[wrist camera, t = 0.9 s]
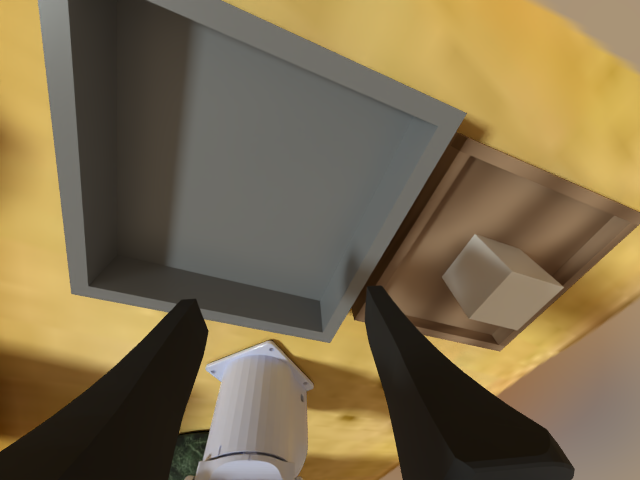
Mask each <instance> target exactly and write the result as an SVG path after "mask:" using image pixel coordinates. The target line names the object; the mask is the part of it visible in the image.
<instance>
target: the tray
mask: <svg viewBox="0 0 640 480" xmlns="http://www.w3.org/2000/svg"><path fill="white" fill-rule="evenodd" d="M639 224H640V212H638V211H636V210H633V209H631V208H629V207H627V206H625V205H622V204H620V203H618V202H615V201H613V200H611V199H609V198H606V197H604V196H602V195H599V194H597V193H595V192H593V191H590V190H588V189H586V188H583V187H581V186H579V185H576V184H574V183H572V182H570V181H567V180H565V179H563V178H560V177H558V176H556V175H553V174H551V173H549V172H547V171H544V170H542V169H540V168H537V167H535V166H533V165H530V164H528V163H526V162H524V161H521V160H519V159H517V158H514V157H512V156H510V155H508V154H505V153H503V152H501V151H498V150H496V149H494V148H491V147H489V146H487V145H485V144H482V143H480V142H478V141H475V140H473V139H471V138H468V137H466V136H464V135H462V134H459V133H457V132H456V133H455V134H454V136H453V138H452V139H451V141H450V143H449V144H448V146H447V148H446V149H445V151H444V153H443V154H442V156H441V158H440V159H439V161H438V163H437V164H436V166H435V168H434V169H433V171H432V173H431V174H430V176H429V178H428V179H427V181H426V183H425V185H424V186H423V188H422V190H421V191H420V193H419V195H418V196H417V198H416V200H415V201H414V203H413V205H412V206H411V208H410V210H409V211H408V213H407V215H406V216H405V218H404V220H403V221H402V223H401V225H400V226H399V228H398V230H397V231H396V233H395V235H394V237H393V238H392V240H391V242H390V243H389V245H388V247H387V248H386V250H385V252H384V253H383V255H382V257H381V258H380V260H379V262H378V263H377V265H376V267H375V268H374V270H373V272H372V273H371V275H370V277H369V278H368V280H367V282H366V283H365V285H364V287H363V289H362V290H361V292H360V294H359V295H358V297H357V299H356V300H355V302H354V304H353V305H352V312H353V316H354V320H357V321H361V322H365V306H366V292H367V286H379V285H381V286H382V287H384V289H385V290H386V292H387V293H388V294H389V296H390V297H391V298H392V300H393V301H394V302H395V303H396V305H397V306H398V307H399V308H400V310H401V311H402V312H403V313H404V314H405V315H406V317H407V318H408V319H409V320H410V321H411V322H412V323H413V325H414V326H415V327H416V328H417V329H418V330H419V331H420V332H421V333H422V334H423V335H426V336H431V337H436V338H440V339H445V340H449V341H454V342H459V343H463V344H468V345H473V346H477V347H482V348H487V349H491V350H496V351H501V350H502V349H503V348H504V347H505V346H506V345H507V344H509V343H510V342H511V341H512V340H513V339H514V338H515V337H516V336H517V335H518V334H520V333H521V332H522V331H523V330H524V329H525V328H526V327H527V326H528V325H529V324H531V323H532V322H533V321H534V320H535V319H536V318H537V317H538V316H539V315H540V314H542V313H543V312H544V311H545V310H546V309H547V308H548V307H549V306H550V305H551V304H553V303H554V302H555V301H556V300H557V299H558V298H559V297H560V296H561V295H562V294H564V293H565V292H566V291H567V290H568V289H569V288H570V287H571V286H572V285H573V284H575V283H576V282H577V281H578V280H579V279H580V278H581V277H582V276H583V275H584V274H585V273H587V272H588V271H589V270H590V269H591V268H592V267H593V266H594V265H595V264H596V263H598V262H599V261H600V260H601V259H602V258H603V257H604V256H605V255H606V254H607V253H609V252H610V251H611V250H612V249H613V248H614V247H615V246H616V245H617V244H618V243H620V242H621V241H622V240H623V239H624V238H625V237H626V236H627V235H628V234H629V233H631V232H632V231H633V230H634V229H635V228H636V227H637V226H638V225H639ZM474 234H477V235H480V236H483V237H485V238H488V239H491V240H494V241H497V242H500V243H503V244H506V245H509V246H512V247H515V248H518V249H520V250H522V251H523V252H524V253H525V254H526V255H527V256H529V257H530V258H531V259H532V260H533V261H534V262H535V263H537V264H538V265H539V266H540V267H541V268H542V269H544V270H545V271H546V272H547V273H548V274H549V275H550V276H552V277H553V278H554V279H555V280H556V281H557V282H559V283H560V284H561V285H562V286H563V287H564V288H563V289H562V290H561V291H560V292H559V293H557V294H556V295H555V296H554V297H553V298H552V299H551V300H550V301H549V302H548V303H547V304H546V305H544V306H543V307H542V308H541V309H540V310H539V311H538V312H537V313H536V314H535V315H534V316H533V317H531V318H530V319H529V320H528V321H527V322H526V323H525V324H524V325H523V326H522V327H521V328H520V329H518V330H513V329H509V328H505V327H501V326H497V325H493V324H489V323H485V322H481V321H476V320H472V319H469V318H468V317H467V315H466V314H465V312H464V311H463V309H462V307H461V306H460V304H459V303H458V301H457V300H456V298H455V297H454V295H453V294H452V292H451V291H450V289H449V288H448V286H447V284H446V283H445V281H444V280H443V278H442V276H443V275H444V274H445V272H446V271H447V270H448V268H449V267H450V266H451V264H452V263H453V262H454V261H455V259H456V258H457V257H458V255H459V254H460V253H461V251H462V250H463V249H464V248H465V246H466V245H467V244H468V242H469V241H470V240H471V238H472V237H473V236H474Z"/></svg>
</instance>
